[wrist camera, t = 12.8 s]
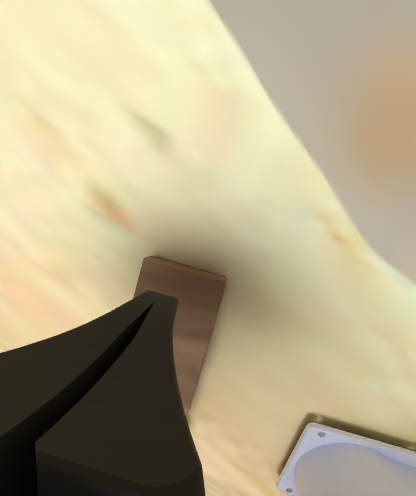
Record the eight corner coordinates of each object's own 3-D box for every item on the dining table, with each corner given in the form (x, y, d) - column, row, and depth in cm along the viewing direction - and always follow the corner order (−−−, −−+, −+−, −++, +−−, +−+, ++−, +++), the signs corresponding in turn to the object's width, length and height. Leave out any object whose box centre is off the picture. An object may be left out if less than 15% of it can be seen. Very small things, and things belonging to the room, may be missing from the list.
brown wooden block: (143, 258, 14) (111, 383, 15) (226, 281, 14) (189, 408, 15) (151, 255, 16) (121, 369, 17) (225, 277, 16) (192, 391, 16)
